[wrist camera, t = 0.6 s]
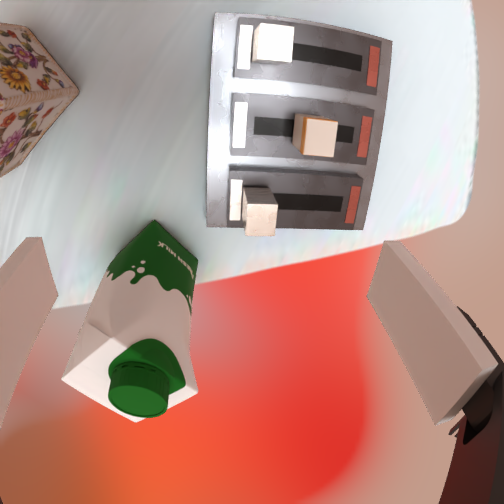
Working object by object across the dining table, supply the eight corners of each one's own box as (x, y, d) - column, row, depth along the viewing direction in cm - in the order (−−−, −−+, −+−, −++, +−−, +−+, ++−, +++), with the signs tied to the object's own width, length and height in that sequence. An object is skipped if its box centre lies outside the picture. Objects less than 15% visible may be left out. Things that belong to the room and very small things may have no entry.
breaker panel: (215, 16, 23) (214, -5, 16) (383, 42, 25) (426, 37, 18) (206, 218, 33) (205, 257, 27) (356, 222, 36) (386, 257, 29)
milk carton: (209, 260, 36) (211, 417, 19) (157, 301, 38) (134, 448, 21) (154, 207, 32) (99, 353, 15) (104, 257, 34) (42, 399, 17)
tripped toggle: (294, 112, 25) (307, 118, 22) (322, 115, 25) (338, 121, 22) (291, 144, 26) (303, 154, 23) (318, 147, 27) (333, 157, 23)
